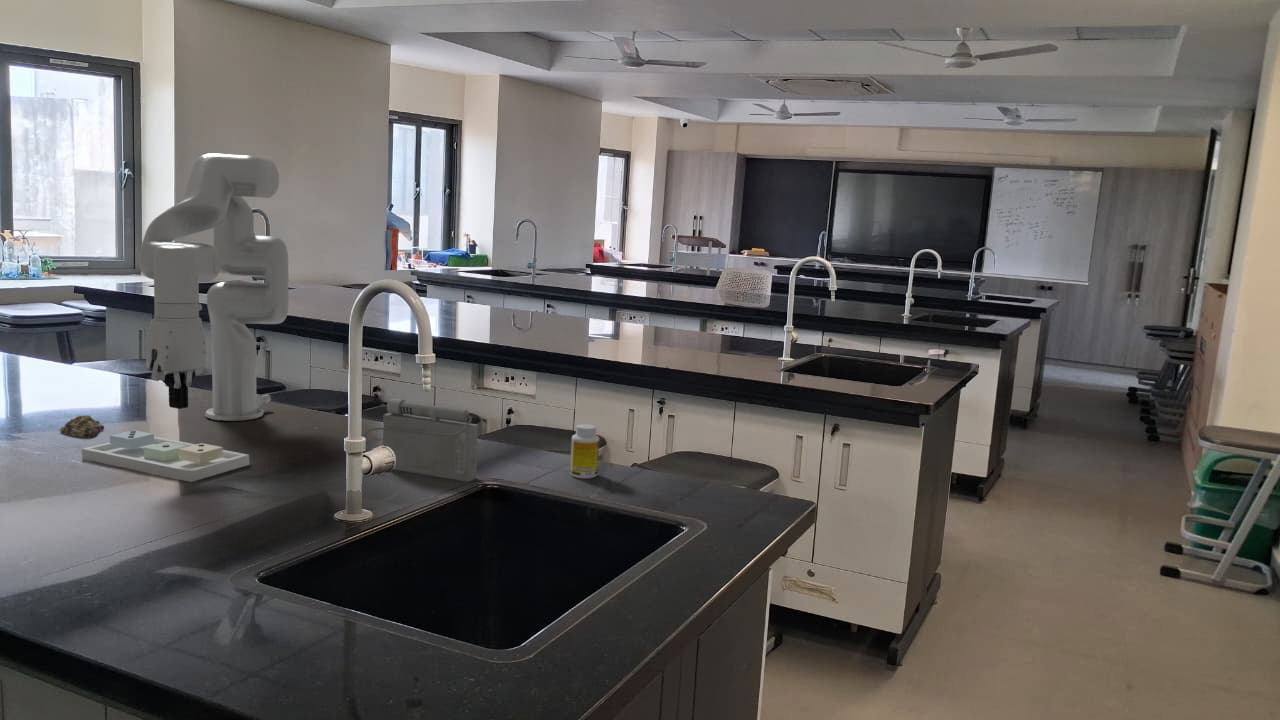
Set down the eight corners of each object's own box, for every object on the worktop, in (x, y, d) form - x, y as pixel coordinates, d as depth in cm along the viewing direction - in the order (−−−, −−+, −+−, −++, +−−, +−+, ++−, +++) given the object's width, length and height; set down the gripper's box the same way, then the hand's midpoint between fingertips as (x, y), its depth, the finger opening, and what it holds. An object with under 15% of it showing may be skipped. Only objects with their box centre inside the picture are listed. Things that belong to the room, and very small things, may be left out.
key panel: (144, 443, 196) (144, 434, 195) (249, 464, 185) (249, 454, 185) (82, 458, 183) (81, 448, 182) (190, 482, 172) (190, 471, 172)
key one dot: (167, 451, 187) (167, 440, 187) (187, 455, 185) (187, 444, 185) (144, 457, 182) (143, 446, 182) (164, 461, 180) (164, 450, 180)
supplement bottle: (601, 479, 190) (603, 429, 188) (574, 480, 188) (576, 429, 186) (592, 471, 195) (595, 422, 193) (566, 472, 193) (568, 423, 191)
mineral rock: (53, 419, 203) (94, 406, 207) (60, 438, 204) (101, 424, 209) (62, 432, 195) (104, 418, 199) (69, 451, 196) (111, 436, 201)
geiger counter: (482, 407, 184) (372, 392, 192) (466, 413, 178) (353, 397, 186) (480, 477, 186) (371, 459, 194) (463, 485, 180) (352, 466, 188)
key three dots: (134, 439, 190) (134, 429, 190) (154, 443, 189) (153, 433, 188) (110, 445, 186) (110, 434, 185) (130, 449, 184) (130, 438, 183)
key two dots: (201, 453, 184) (201, 442, 184) (222, 457, 182) (222, 446, 182) (178, 459, 179) (178, 448, 179) (200, 463, 177) (200, 452, 177)
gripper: (195, 307, 186) (196, 398, 189) (127, 312, 173) (129, 411, 175) (223, 310, 183) (224, 403, 186) (156, 316, 170) (158, 416, 172)
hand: (178, 407), depth 181 cm, fingers closed
